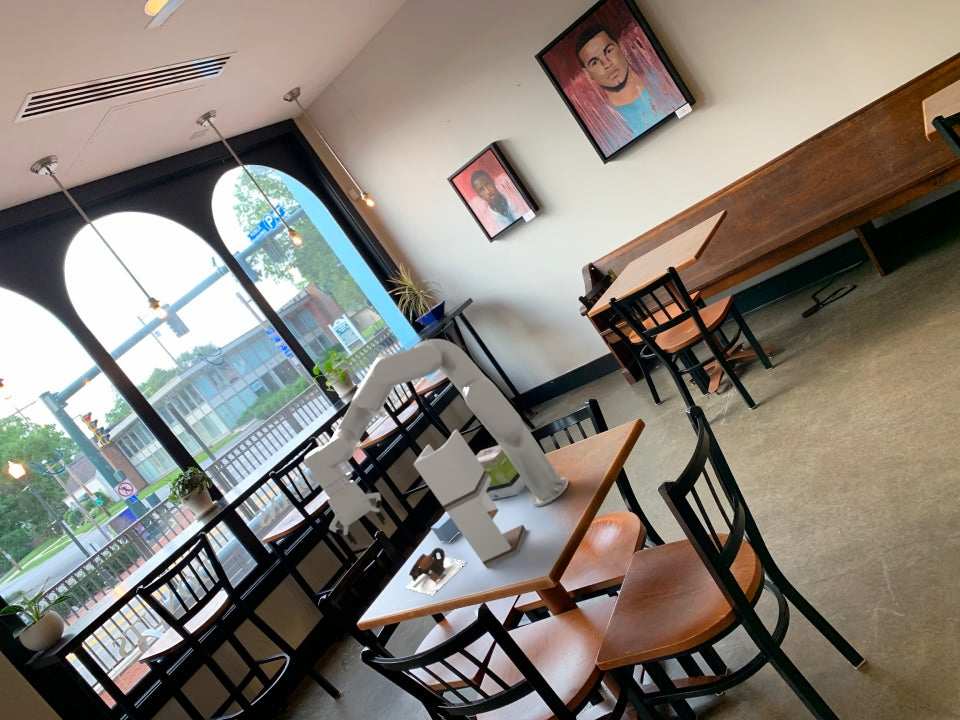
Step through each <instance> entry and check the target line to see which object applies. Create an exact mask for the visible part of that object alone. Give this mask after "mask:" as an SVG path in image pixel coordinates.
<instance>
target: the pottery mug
mask: <svg viewBox="0 0 960 720" xmlns="http://www.w3.org/2000/svg"><path fill="white" fill-rule="evenodd" d="M437 554H439V556H440V557H441V558H440V559H437V558H438V557H437ZM445 558H446V555H445V551H444V549H443V548H441V547H435V548H434V549H433V550H432V551H431V553H429V554H427V555H426V554H425V553H422V554H421V555H420V556H419V558H418V559H417V560H416V562H414V564H413V566H412V568H411V569H410V571H409V574H408V575H409V576H411V577H412V581H413V580H414V581H415V582H416V579H417V578H418V577H419V576H421V575H422V574H426V575H428V574H429V571H430V570H431V571H432V574H431V576H430V579H431V580H433V581H434V582H436V581H437V580H438V578H439V577H440V575H441V574H442V573H443V572H444V571H445V570H446V569H445V568H444V559H445Z"/></svg>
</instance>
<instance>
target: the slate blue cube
mask: <svg viewBox="0 0 960 720" xmlns="http://www.w3.org/2000/svg"><path fill="white" fill-rule="evenodd" d="M430 528H431V530H432V531H433V533H434V534H435V536H436V537H437V538H438V540H439V542H441V541H444V542H449V541H450V540H451V539H452V538H453V537H454V536H455V535H456V534H457V533H458V532H460V530H459V529H458V527H457V526H456V524H455V523H454V521H453V520H452V519H451V517H450V516H449V515H443V516H442V517H441V518H440V519H439V520H438V521H437V522H435V523H434V524H433V525H432V526H431V527H430ZM460 533H461V532H460ZM444 542H443V543H444Z"/></svg>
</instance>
